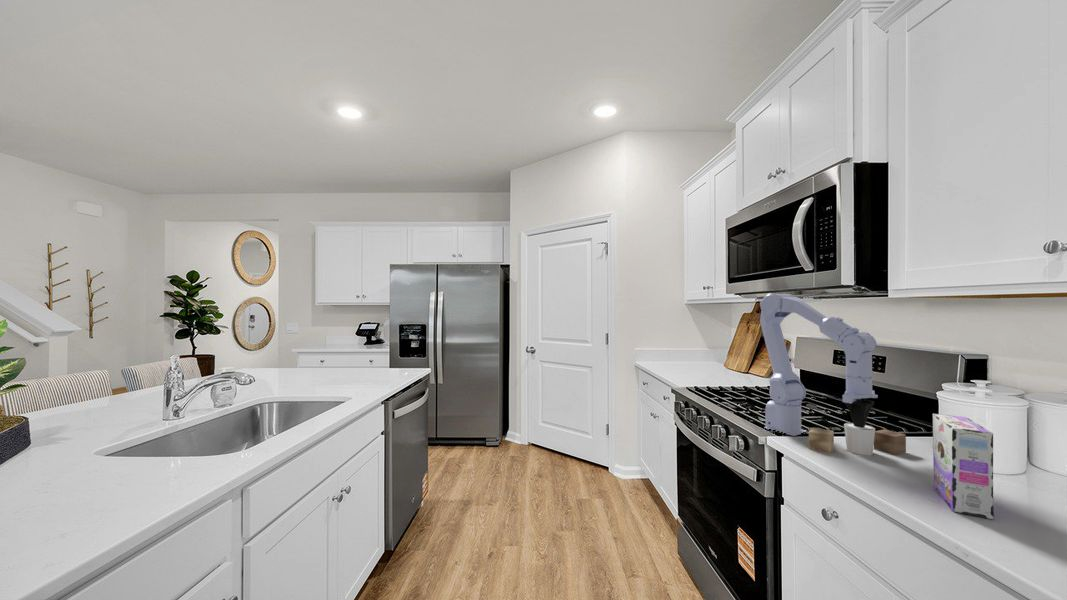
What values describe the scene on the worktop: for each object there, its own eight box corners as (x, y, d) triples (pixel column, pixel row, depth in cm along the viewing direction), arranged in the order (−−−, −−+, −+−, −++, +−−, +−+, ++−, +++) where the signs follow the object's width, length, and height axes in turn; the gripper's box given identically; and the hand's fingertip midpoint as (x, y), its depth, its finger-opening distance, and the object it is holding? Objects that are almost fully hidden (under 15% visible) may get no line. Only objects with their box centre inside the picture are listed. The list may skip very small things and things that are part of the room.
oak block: (809, 449, 116) (808, 431, 116) (812, 444, 120) (812, 427, 120) (830, 453, 113) (830, 435, 113) (833, 448, 117) (833, 431, 117)
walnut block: (873, 449, 116) (873, 431, 116) (884, 447, 118) (884, 429, 118) (894, 455, 112) (894, 436, 112) (905, 452, 114) (905, 434, 114)
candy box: (995, 521, 78) (994, 432, 78) (952, 512, 81) (951, 427, 81) (969, 492, 89) (968, 416, 89) (932, 486, 92) (931, 412, 93)
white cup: (882, 456, 111) (882, 429, 111) (856, 455, 111) (856, 429, 111) (862, 447, 118) (862, 422, 118) (837, 447, 118) (837, 422, 118)
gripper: (864, 381, 107) (864, 434, 107) (887, 376, 115) (888, 425, 115) (833, 377, 113) (833, 427, 113) (857, 373, 121) (858, 419, 121)
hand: (859, 426), depth 114 cm, fingers closed, pressing on white cup
